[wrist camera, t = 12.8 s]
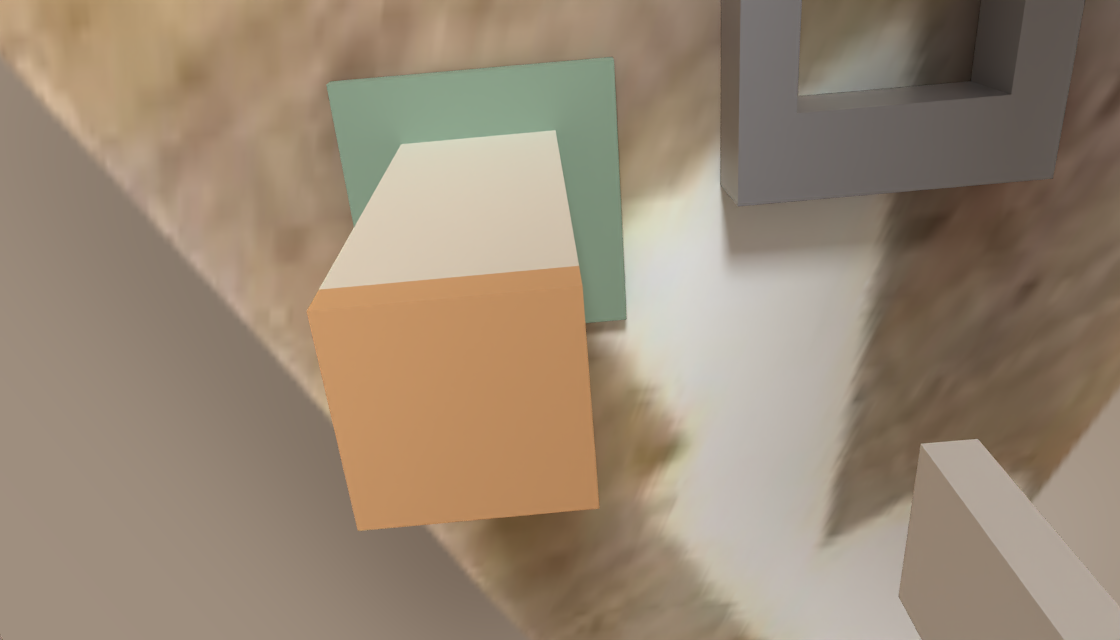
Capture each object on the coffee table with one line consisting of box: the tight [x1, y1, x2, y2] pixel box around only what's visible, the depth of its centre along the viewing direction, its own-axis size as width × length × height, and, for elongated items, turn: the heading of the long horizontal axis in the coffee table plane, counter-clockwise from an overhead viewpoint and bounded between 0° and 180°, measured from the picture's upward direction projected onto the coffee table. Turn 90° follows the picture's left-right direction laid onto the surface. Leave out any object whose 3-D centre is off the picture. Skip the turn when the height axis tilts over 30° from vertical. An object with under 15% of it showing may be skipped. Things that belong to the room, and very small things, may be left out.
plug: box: [307, 130, 599, 531], centre depth 22 cm, size 5×5×13 cm
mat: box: [327, 57, 626, 323], centre depth 28 cm, size 9×9×1 cm
